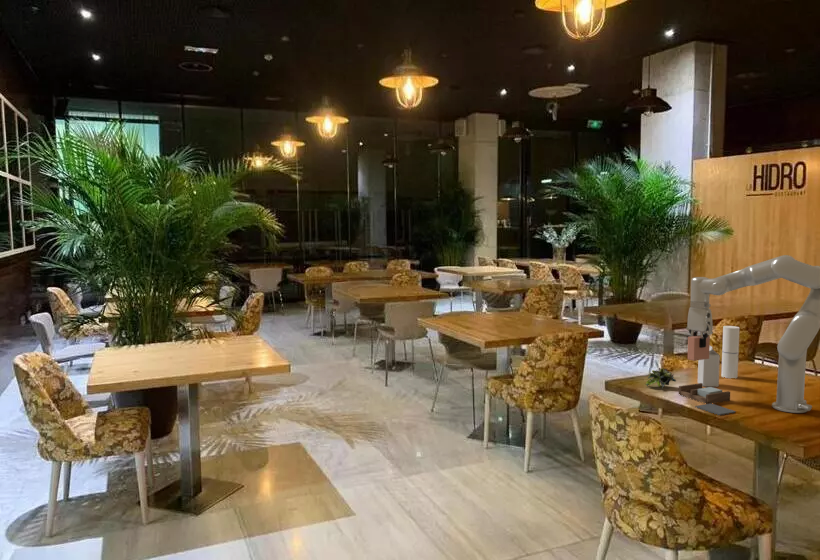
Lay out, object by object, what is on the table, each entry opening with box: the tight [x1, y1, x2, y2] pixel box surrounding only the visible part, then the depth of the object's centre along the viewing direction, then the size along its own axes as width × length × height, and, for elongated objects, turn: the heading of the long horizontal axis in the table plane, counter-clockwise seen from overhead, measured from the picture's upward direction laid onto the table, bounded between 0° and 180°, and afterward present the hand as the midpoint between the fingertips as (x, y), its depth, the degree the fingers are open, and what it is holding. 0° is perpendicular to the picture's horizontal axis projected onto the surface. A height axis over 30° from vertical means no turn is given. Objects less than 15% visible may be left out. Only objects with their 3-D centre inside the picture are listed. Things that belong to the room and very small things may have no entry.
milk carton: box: [697, 345, 721, 388], centre depth 292 cm, size 7×7×19 cm
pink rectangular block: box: [687, 335, 711, 362], centre depth 274 cm, size 4×9×10 cm, turn 112°
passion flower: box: [645, 367, 677, 389], centre depth 289 cm, size 11×11×12 cm
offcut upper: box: [697, 386, 723, 397], centre depth 269 cm, size 6×8×2 cm
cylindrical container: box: [720, 325, 741, 379], centre depth 307 cm, size 7×7×25 cm
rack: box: [678, 382, 731, 404], centre depth 272 cm, size 16×13×4 cm
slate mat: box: [694, 403, 737, 416], centre depth 255 cm, size 12×9×1 cm
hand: (698, 346), depth 274 cm, fingers closed on pink rectangular block, 3 cm apart
